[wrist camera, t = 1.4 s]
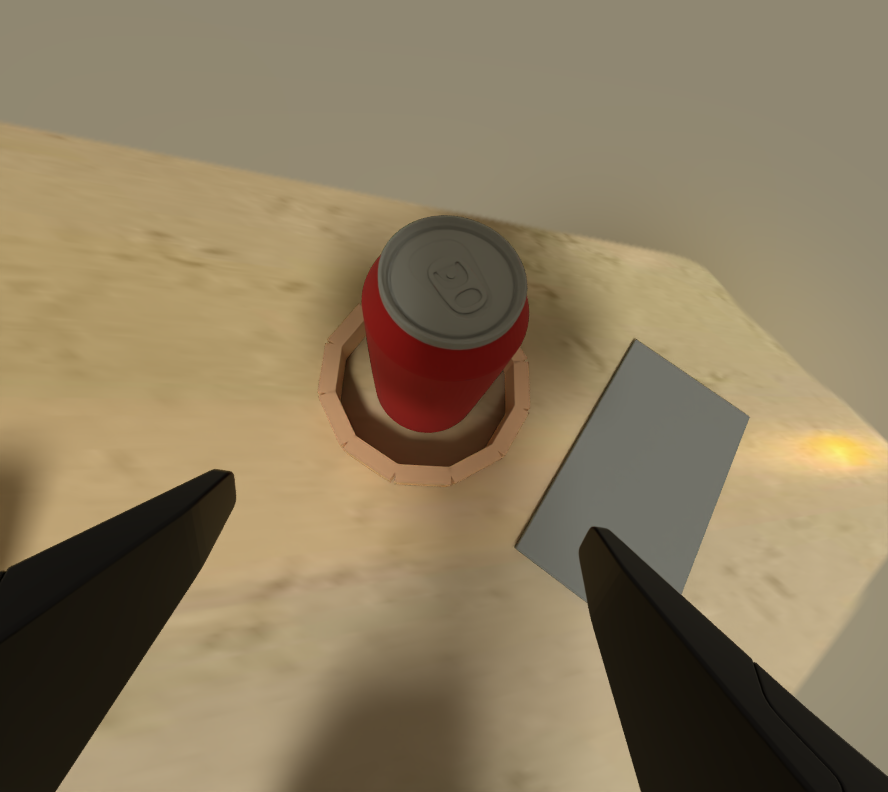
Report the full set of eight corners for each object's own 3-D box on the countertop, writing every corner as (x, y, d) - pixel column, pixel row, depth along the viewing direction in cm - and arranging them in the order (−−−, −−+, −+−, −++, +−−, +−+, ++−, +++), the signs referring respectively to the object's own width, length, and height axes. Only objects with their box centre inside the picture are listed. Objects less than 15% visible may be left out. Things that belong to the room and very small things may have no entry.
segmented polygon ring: (553, 430, 24) (566, 423, 22) (377, 524, 20) (376, 526, 19) (463, 280, 26) (469, 262, 25) (296, 342, 23) (287, 327, 21)
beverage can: (439, 326, 25) (476, 177, 14) (493, 402, 24) (583, 308, 12) (356, 370, 23) (319, 241, 12) (410, 456, 22) (426, 402, 11)
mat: (653, 653, 20) (657, 655, 20) (514, 547, 21) (516, 548, 21) (745, 418, 26) (749, 416, 26) (633, 341, 27) (636, 339, 27)
